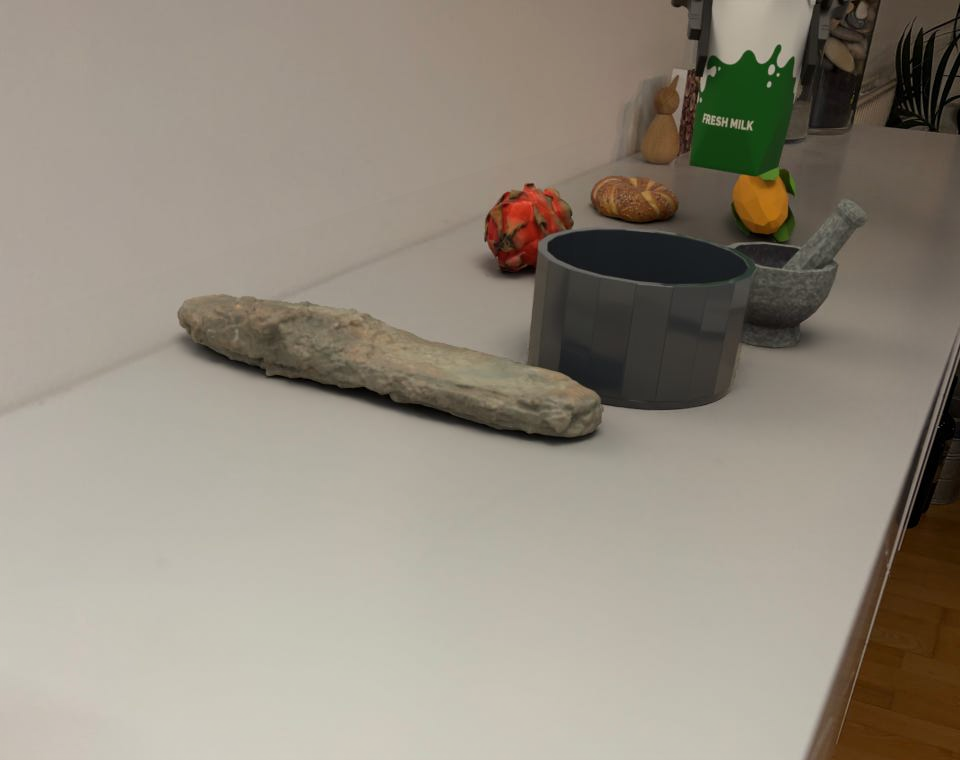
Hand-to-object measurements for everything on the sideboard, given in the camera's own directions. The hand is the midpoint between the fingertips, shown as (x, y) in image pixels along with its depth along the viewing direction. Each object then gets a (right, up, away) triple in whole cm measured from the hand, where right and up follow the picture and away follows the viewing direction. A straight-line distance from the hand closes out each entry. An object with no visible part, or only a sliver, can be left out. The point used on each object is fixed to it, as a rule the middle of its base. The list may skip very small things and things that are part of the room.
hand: (754, 70), depth 101 cm
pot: (-14, -31, -14) cm, 37 cm away
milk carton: (0, -6, +8) cm, 10 cm away
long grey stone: (-33, -34, -20) cm, 52 cm away
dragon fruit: (-21, -16, +8) cm, 28 cm away
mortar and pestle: (0, -26, -5) cm, 27 cm away
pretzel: (-7, -1, +33) cm, 34 cm away
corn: (+8, -5, +28) cm, 29 cm away
